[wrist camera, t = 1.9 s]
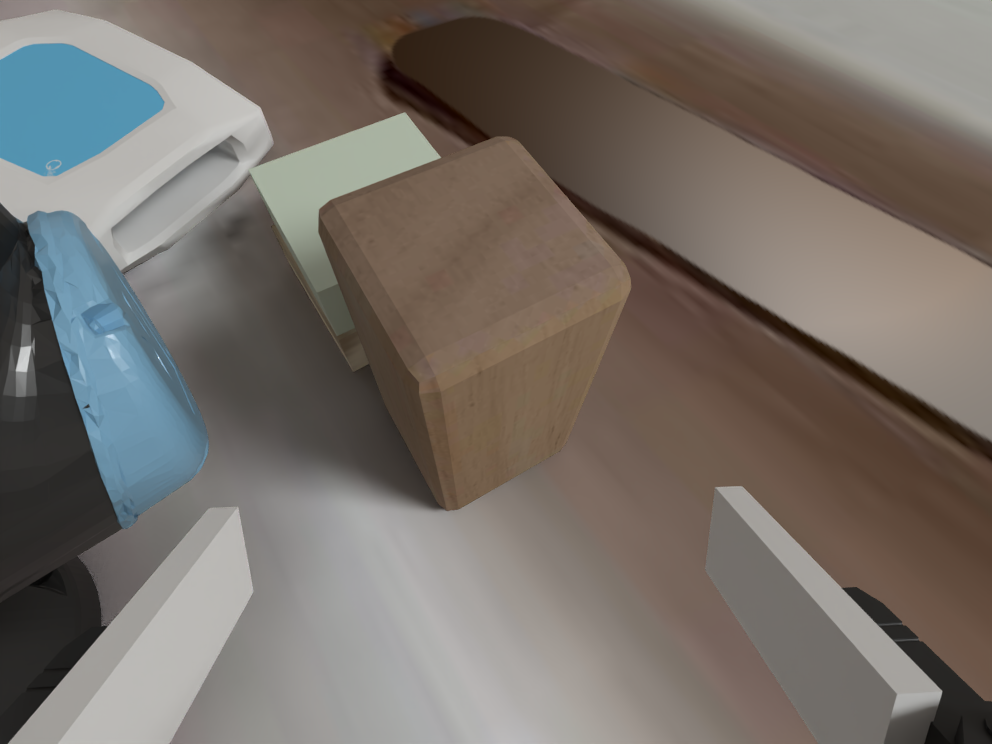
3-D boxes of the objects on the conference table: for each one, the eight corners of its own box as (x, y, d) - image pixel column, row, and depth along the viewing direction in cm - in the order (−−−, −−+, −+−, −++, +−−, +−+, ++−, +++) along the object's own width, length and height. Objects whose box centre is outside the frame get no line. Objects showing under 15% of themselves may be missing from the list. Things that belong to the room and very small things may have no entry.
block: (382, 401, 39) (302, 198, 22) (498, 343, 42) (512, 120, 24) (445, 520, 36) (412, 392, 18) (569, 448, 38) (648, 274, 20)
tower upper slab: (336, 336, 36) (317, 292, 32) (273, 221, 41) (248, 169, 37) (487, 265, 40) (488, 217, 35) (412, 166, 44) (404, 112, 40)
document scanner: (87, 53, 58) (45, -10, 52) (284, 154, 51) (261, 94, 46) (-105, 169, 49) (-179, 107, 43) (104, 306, 43) (48, 255, 37)
